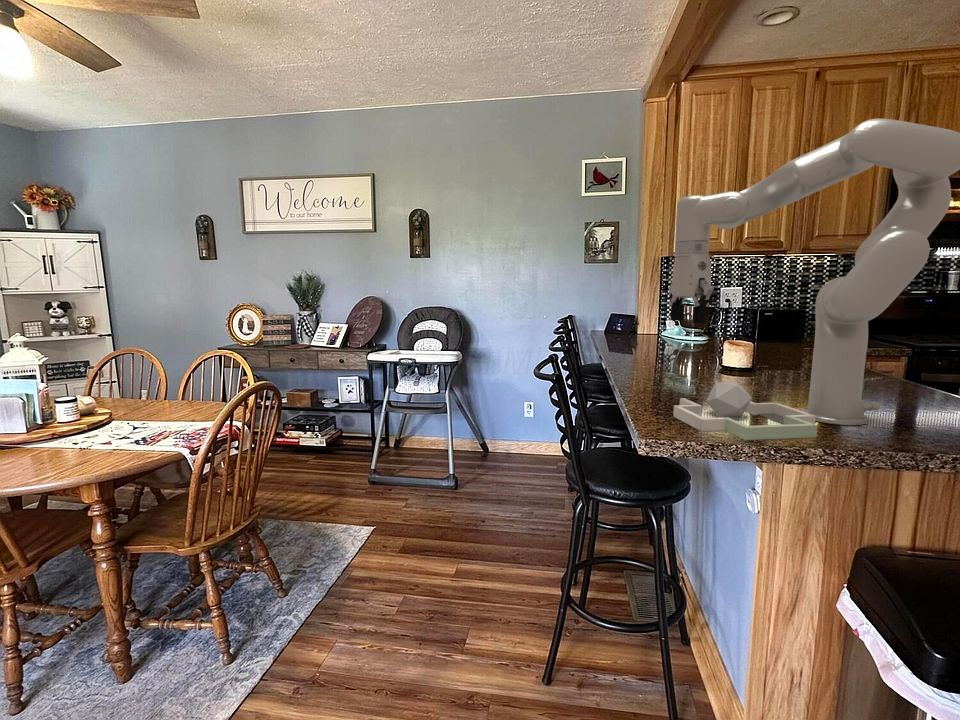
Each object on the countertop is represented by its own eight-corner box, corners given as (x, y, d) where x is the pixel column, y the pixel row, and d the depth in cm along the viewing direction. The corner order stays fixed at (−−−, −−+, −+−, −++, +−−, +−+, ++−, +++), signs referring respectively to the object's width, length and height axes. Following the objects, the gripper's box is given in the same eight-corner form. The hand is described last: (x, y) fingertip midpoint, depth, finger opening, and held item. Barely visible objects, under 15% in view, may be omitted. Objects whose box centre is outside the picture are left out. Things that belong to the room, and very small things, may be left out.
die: (746, 425, 109) (764, 388, 111) (711, 405, 110) (729, 369, 111) (727, 428, 117) (744, 394, 119) (694, 409, 118) (712, 375, 119)
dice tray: (756, 405, 124) (757, 396, 123) (840, 436, 98) (841, 424, 98) (659, 408, 121) (659, 398, 121) (719, 441, 96) (720, 428, 96)
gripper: (728, 247, 110) (723, 324, 113) (686, 252, 127) (682, 319, 130) (697, 247, 109) (693, 324, 112) (658, 252, 126) (655, 319, 129)
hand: (687, 321), depth 121 cm, fingers open, 9 cm apart
